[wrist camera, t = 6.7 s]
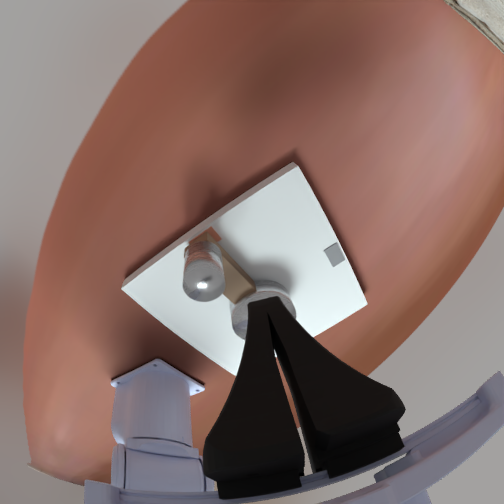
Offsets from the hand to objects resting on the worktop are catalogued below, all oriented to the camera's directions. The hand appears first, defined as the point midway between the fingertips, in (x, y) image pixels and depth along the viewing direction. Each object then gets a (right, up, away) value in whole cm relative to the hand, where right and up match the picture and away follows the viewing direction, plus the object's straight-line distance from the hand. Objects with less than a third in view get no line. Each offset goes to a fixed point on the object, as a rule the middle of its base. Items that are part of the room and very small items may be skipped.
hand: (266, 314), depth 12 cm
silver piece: (-2, 0, +9) cm, 9 cm away
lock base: (0, -1, +11) cm, 12 cm away
